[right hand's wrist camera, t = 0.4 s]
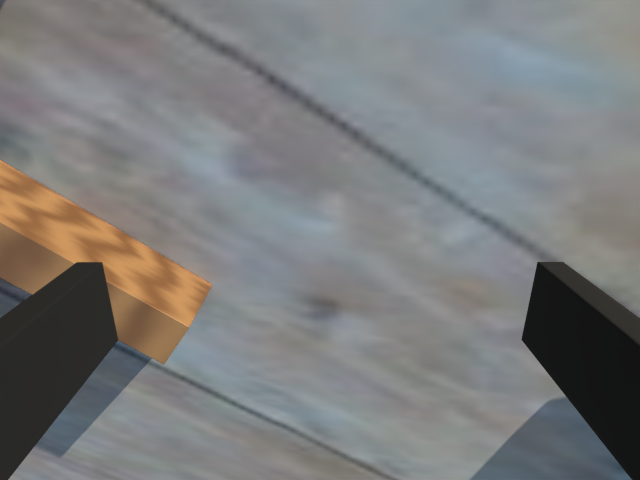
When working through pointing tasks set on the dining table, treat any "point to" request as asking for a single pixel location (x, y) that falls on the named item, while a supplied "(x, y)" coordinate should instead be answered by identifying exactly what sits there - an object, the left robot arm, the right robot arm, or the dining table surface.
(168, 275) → the beam
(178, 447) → the dining table surface
